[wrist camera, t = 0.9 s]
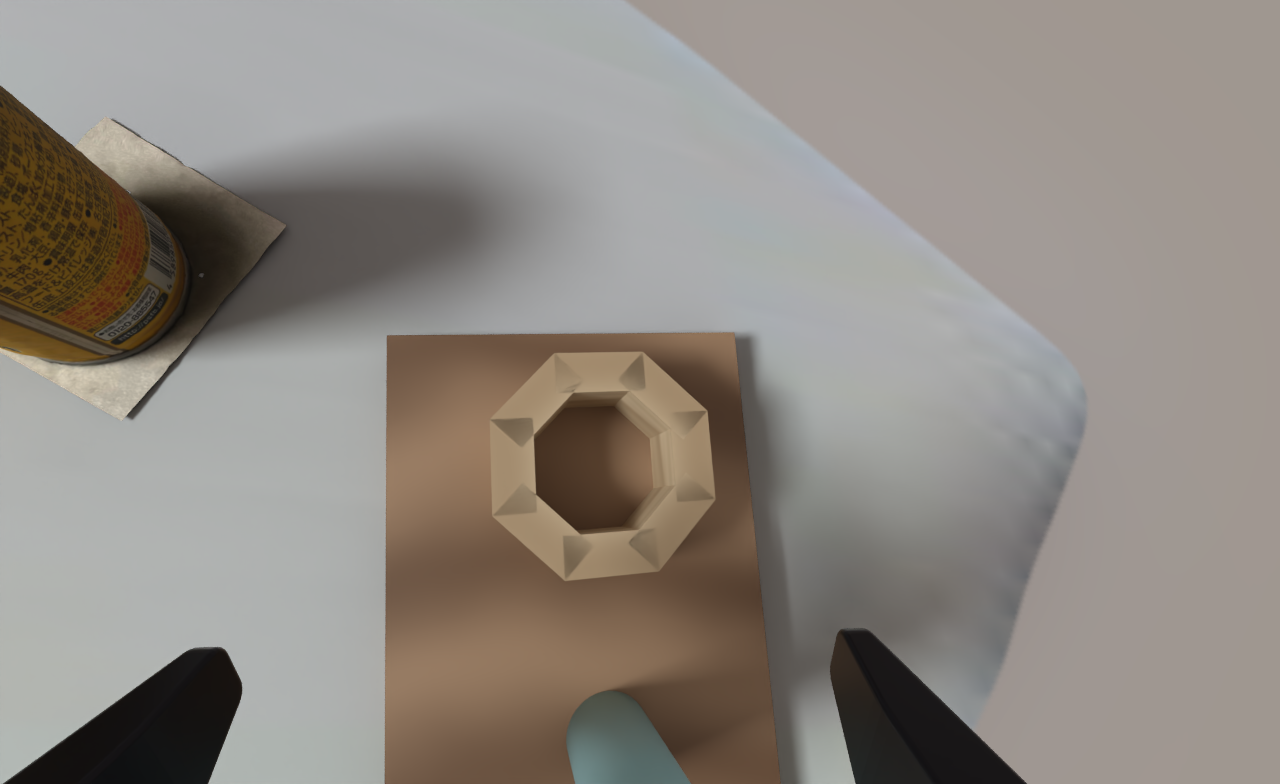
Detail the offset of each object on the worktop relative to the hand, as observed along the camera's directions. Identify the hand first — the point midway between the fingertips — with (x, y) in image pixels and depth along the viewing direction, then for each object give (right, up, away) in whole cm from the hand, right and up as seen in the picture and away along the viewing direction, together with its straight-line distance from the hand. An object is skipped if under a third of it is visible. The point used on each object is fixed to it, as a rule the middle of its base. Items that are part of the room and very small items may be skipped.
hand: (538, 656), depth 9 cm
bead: (0, +1, +13) cm, 13 cm away
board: (-1, -3, +13) cm, 13 cm away
